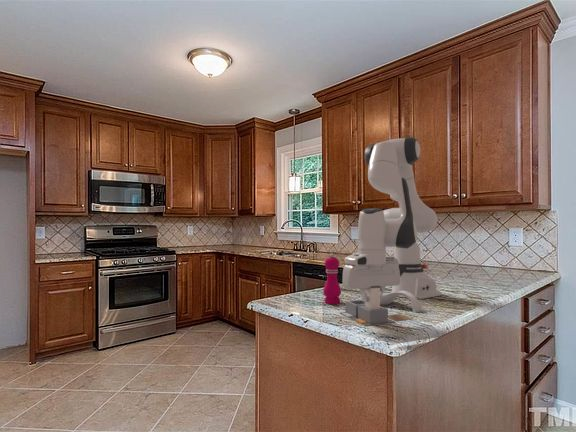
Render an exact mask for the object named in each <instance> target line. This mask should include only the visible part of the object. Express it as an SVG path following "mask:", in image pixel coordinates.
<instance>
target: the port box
mask: <svg viewBox="0 0 576 432" xmlns="http://www.w3.org/2000/svg"><path fill="white" fill-rule="evenodd" d="M344 302H345V303H344V304H345V305H344V306H345V310H344V311H343V312H339V315H341V316H343V317H345V318H347V319H349V320H351V321H354V322H356V323H357V324H360V325H362V326H364V327H371V326H375V325H376V326H377V325H384V324H392V323H395V322H396V321H394V320H391V319H389V318H388V315H389V310H388V308H386V307H383V306H382V305H380V309H376V310H369V309H367V308H365V302H364V301H363V299H354V300H347V301H344Z"/></svg>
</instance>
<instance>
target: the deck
mask: <svg viewBox="0 0 576 432" xmlns="http://www.w3.org/2000/svg"><path fill="white" fill-rule="evenodd" d="M388 319H390V320H392V321H395V322H403V321H411V320H413V317H409V316H406V315H404V314H401V313H397V314H388Z"/></svg>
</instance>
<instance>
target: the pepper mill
mask: <svg viewBox="0 0 576 432" xmlns="http://www.w3.org/2000/svg"><path fill="white" fill-rule="evenodd" d="M334 254H335V253H332V252H331V253H330V254H329V257H327V258H326V259H325V260H324V266H325V268H326V269H325V273H326V282H325V284H324V287H323V292H322V293H323V295H324V303H325V304H329V305H337V304H338V305H339V304H340V303H341V298H340V296H341V293H342V289H341V286H340V284H339V282H338V273H339V270H338V268H339V267H340V260H339V259H338V258H337V257H334V256H335V255H334Z"/></svg>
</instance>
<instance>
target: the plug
mask: <svg viewBox="0 0 576 432" xmlns="http://www.w3.org/2000/svg"><path fill="white" fill-rule="evenodd" d="M365 293H366V295H367V296H369V302H365V308H367V309H369V310H376V309H380V306H381V305H380V286H371V287H370V288H367V291H365Z"/></svg>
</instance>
